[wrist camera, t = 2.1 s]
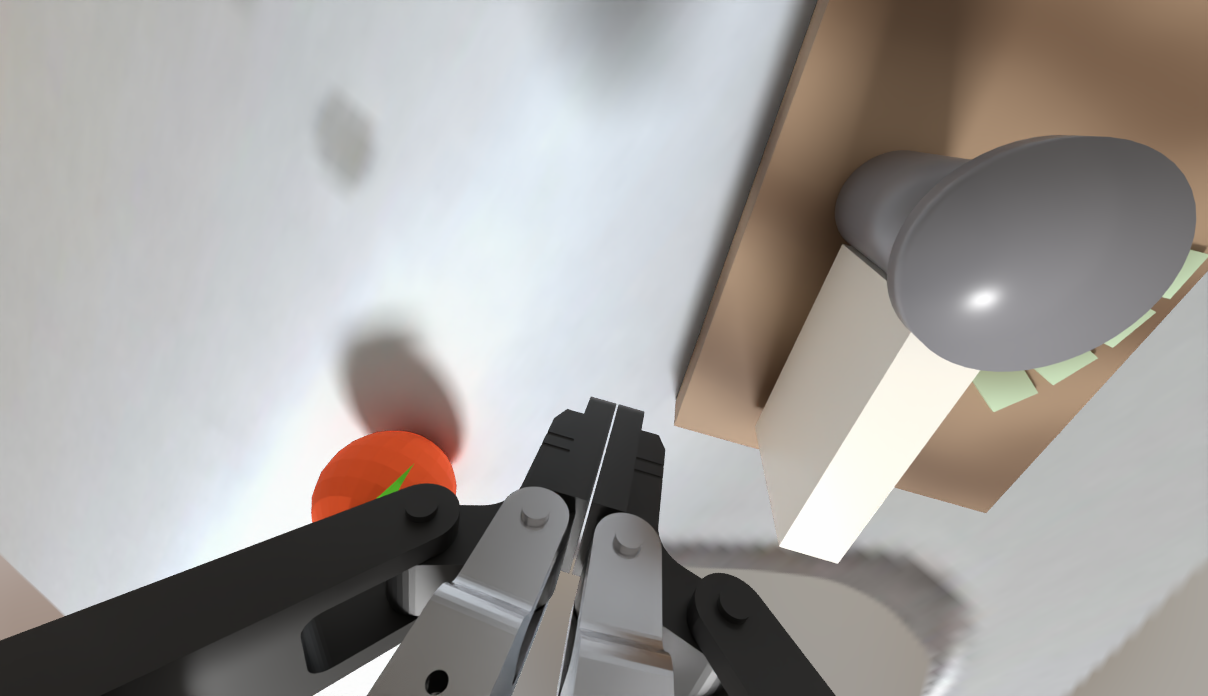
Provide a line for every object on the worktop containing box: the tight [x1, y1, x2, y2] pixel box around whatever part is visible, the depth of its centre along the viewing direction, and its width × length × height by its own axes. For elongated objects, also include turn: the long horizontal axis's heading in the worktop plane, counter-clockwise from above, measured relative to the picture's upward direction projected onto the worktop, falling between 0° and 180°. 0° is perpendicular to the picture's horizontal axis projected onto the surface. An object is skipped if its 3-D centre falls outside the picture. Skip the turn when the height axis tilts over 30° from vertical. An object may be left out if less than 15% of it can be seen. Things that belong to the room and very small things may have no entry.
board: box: [674, 0, 1208, 513], centre depth 16 cm, size 20×14×2 cm
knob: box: [755, 135, 1196, 563], centre depth 13 cm, size 12×4×7 cm, turn 169°
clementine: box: [311, 431, 457, 522], centre depth 23 cm, size 8×7×7 cm
